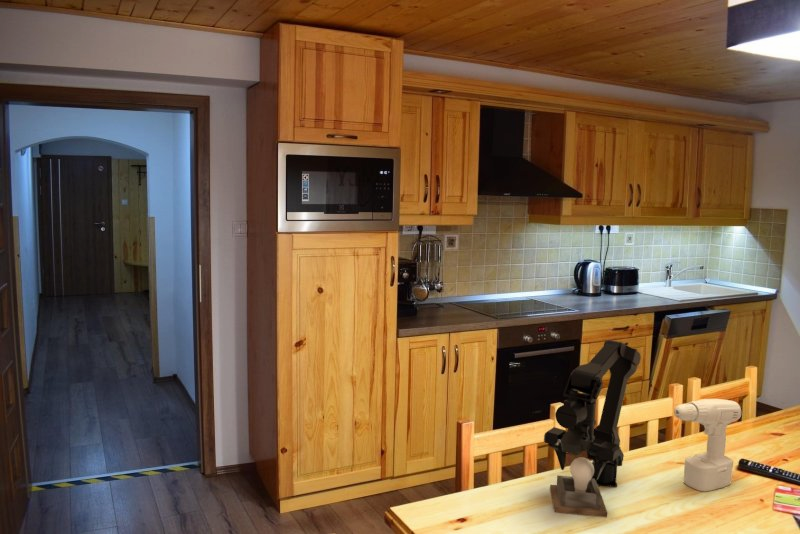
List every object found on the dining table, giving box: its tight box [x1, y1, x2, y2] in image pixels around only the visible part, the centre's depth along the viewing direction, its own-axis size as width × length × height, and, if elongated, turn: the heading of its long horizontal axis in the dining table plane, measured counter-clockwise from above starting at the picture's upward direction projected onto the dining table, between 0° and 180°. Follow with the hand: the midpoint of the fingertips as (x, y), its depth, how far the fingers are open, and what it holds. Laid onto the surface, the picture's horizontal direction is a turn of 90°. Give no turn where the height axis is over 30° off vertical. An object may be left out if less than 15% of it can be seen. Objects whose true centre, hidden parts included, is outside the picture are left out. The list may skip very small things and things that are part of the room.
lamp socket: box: [549, 474, 608, 518], centre depth 169 cm, size 13×13×5 cm
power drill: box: [673, 398, 742, 492], centre depth 180 cm, size 8×24×25 cm, turn 116°
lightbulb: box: [569, 456, 594, 493], centre depth 169 cm, size 6×6×11 cm
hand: (579, 474), depth 169 cm, fingers open, 9 cm apart
